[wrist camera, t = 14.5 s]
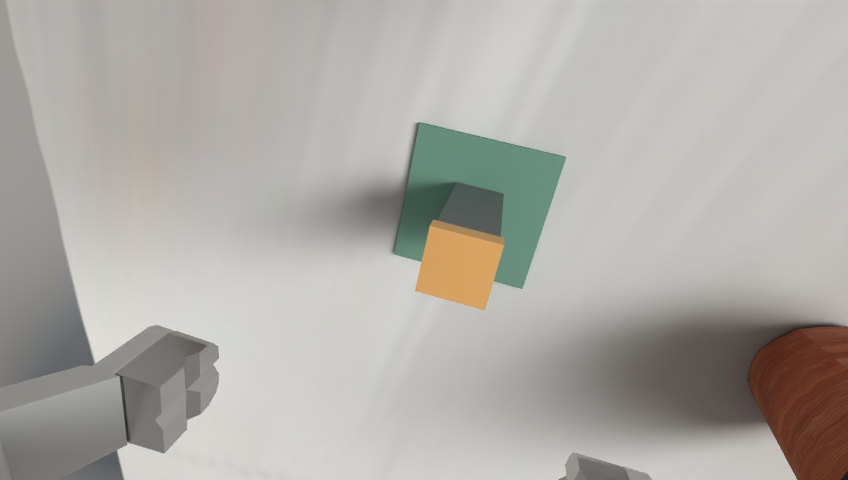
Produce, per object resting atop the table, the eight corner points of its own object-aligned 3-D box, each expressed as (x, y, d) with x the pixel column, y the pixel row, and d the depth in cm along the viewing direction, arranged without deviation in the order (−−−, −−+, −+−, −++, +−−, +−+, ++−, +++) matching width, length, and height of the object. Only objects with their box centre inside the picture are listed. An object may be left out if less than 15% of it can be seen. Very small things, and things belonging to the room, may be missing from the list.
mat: (565, 156, 34) (566, 157, 34) (522, 286, 39) (522, 288, 39) (420, 122, 36) (419, 122, 35) (395, 252, 40) (393, 254, 40)
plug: (506, 191, 36) (504, 245, 25) (492, 239, 38) (484, 310, 26) (455, 179, 36) (429, 225, 25) (443, 227, 38) (415, 290, 27)
